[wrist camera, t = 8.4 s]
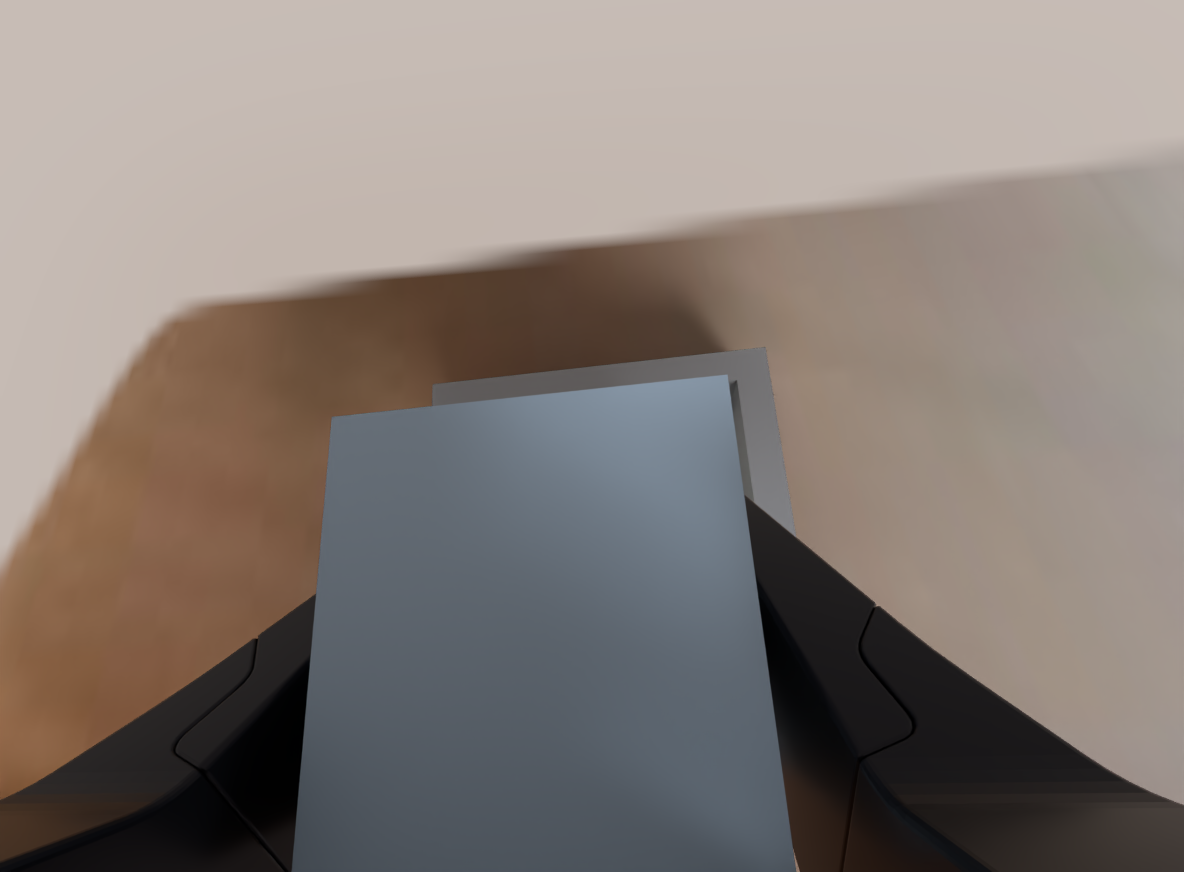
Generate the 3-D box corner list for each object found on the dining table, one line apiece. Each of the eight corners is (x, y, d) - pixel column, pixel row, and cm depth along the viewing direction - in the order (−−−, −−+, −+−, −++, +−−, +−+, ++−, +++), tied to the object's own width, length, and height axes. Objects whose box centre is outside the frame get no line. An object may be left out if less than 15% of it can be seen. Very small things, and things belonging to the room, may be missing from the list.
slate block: (712, 679, 15) (798, 884, 4) (552, 684, 15) (291, 879, 5) (693, 510, 16) (725, 361, 6) (546, 522, 17) (333, 404, 6)
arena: (804, 745, 17) (835, 783, 13) (465, 752, 18) (418, 788, 15) (750, 387, 20) (765, 347, 17) (470, 416, 22) (432, 384, 18)
